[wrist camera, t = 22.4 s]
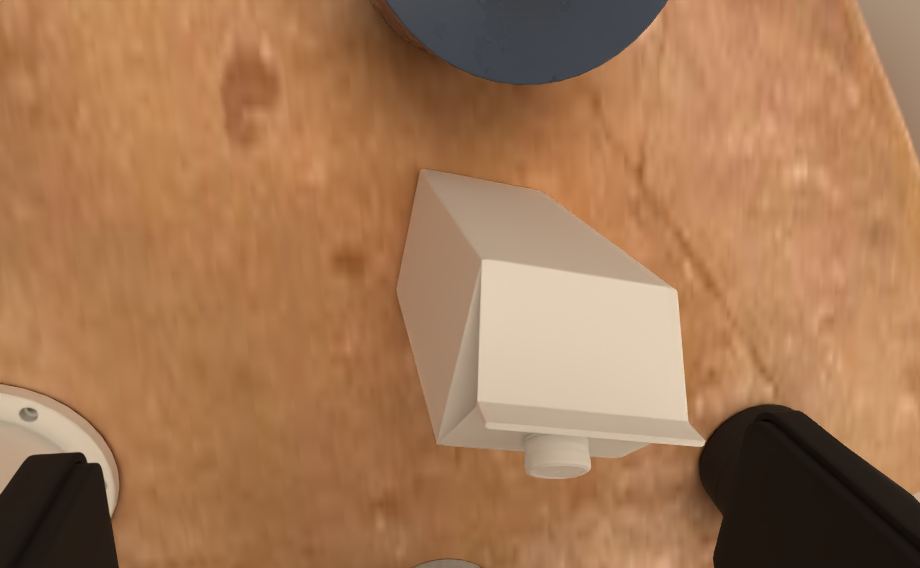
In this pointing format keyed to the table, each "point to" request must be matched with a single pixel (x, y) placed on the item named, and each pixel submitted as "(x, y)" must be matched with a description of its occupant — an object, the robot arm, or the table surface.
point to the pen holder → (736, 455)
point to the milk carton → (537, 330)
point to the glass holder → (447, 564)
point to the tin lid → (525, 34)
